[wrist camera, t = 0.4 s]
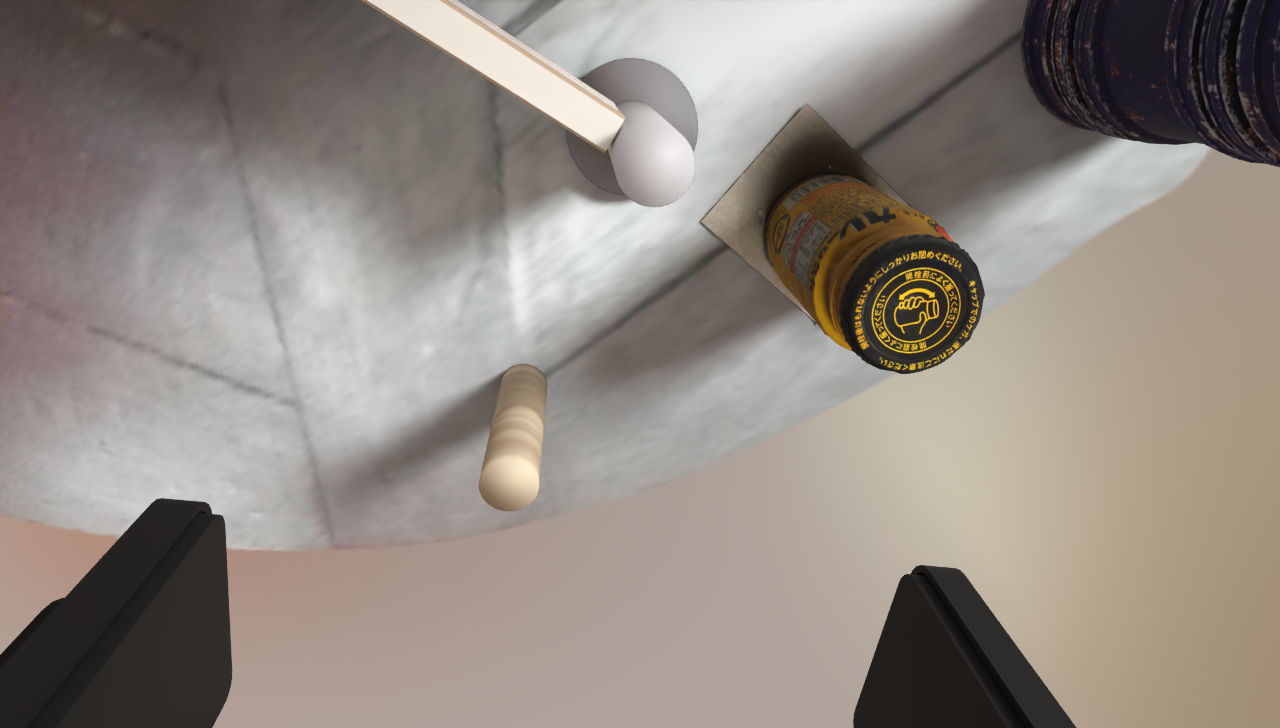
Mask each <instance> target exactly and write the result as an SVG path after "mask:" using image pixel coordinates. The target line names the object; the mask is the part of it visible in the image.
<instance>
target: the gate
mask: <svg viewBox="0 0 1280 728" xmlns="http://www.w3.org/2000/svg"><path fill="white" fill-rule="evenodd" d="M362 1H363V2H365V3H367V4H368V5H370V6H371V7H373V8H375V9H376V10H378V11H379V12H381V13H382V14H384V15H386V16H387V17H389V18H390V19H392V20H394V21H395V22H397V23H398V24H400V25H402V26H403V27H405V28H406V29H408V30H409V31H411V32H413V33H414V34H416V35H417V36H419V37H421V38H422V39H424V40H425V41H427V42H429V43H430V44H432V45H433V46H435V47H437V48H438V49H440V50H441V51H443V52H444V53H446V54H448V55H449V56H451V57H452V58H454V59H456V60H457V61H459V62H460V63H462V64H464V65H465V66H467V67H468V68H470V69H471V70H473V71H475V72H476V73H478V74H479V75H481V76H483V77H484V78H486V79H487V80H489V81H491V82H492V83H494V84H495V85H497V86H499V87H500V88H502V89H503V90H505V91H506V92H508V93H510V94H511V95H513V96H514V97H516V98H518V99H519V100H521V101H522V102H524V103H526V104H527V105H529V106H530V107H532V108H533V109H535V110H537V111H538V112H540V113H541V114H543V115H545V116H546V117H548V118H549V119H551V120H553V121H554V122H556V123H557V124H559V125H561V126H562V127H564V128H565V129H567V130H568V131H570V132H572V133H573V134H575V135H576V136H578V137H580V138H581V139H583V140H584V141H586V142H588V143H589V144H591V145H592V146H594V147H595V148H597V149H599V150H600V151H602V152H603V153H605V151H606V150H607V148H608V150H609V154H610V157H611V161H612V164H613V168H614V171H615V175H616V178H617V181H618V184H619V186H620V188H621V189H622V191H623V192H624V193H625V194H626V195H627V196H628V197H629V198H630V199H631V200H633V201H634V202H636V203H638V204H640V205H643V206H647V207H661V206H665V205H668V204H671V203H673V202H675V201H676V200H678V199H679V198H680V197H681V196H682V195H683V194H684V193H685V192H686V191H687V190H688V188H689V186H690V185H691V183H692V180H693V177H694V173H695V157H694V153H693V150H692V148H691V146H690V144H689V142H688V141H687V140H686V138H685V137H684V136H683V135H682V134H681V133H679V132H678V131H677V130H676V129H675V128H674V127H673V126H672V125H671V124H670V123H668V122H667V121H666V120H665V119H664V118H663V117H662V116H661V115H660V114H658V113H657V112H656V111H655V110H654V109H653V108H652V107H651V106H649V105H648V104H646V103H645V102H642V101H639V100H626V101H623V102H620V103H619V104H617V105H615V103H614V102H612V101H611V100H609V99H608V98H606V97H605V96H603V95H602V94H600V93H599V92H597V91H596V90H594V89H593V88H591V87H589V86H588V85H586V84H585V83H583V82H582V81H580V80H579V79H577V78H576V77H574V76H573V75H571V74H570V73H568V72H566V71H565V70H563V69H562V68H560V67H559V66H557V65H556V64H554V63H553V62H551V61H550V60H548V59H547V58H545V57H543V56H542V55H540V54H539V53H537V52H536V51H534V50H533V49H531V48H530V47H528V46H527V45H525V44H523V43H522V42H520V41H519V40H517V39H516V38H514V37H513V36H511V35H510V34H508V33H507V32H505V31H504V30H502V29H500V28H499V27H497V26H496V25H494V24H493V23H491V22H490V21H488V20H487V19H485V18H484V17H482V16H481V15H479V14H477V13H476V12H474V11H473V10H471V9H470V8H468V7H467V6H465V5H464V4H462V3H461V2H459V1H458V0H362Z"/></svg>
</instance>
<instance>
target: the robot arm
mask: <svg viewBox="0 0 1280 728" xmlns="http://www.w3.org/2000/svg"><path fill="white" fill-rule="evenodd" d="M231 680H232V660H231V639H230V617H229V597H228V575H227V553H226V532H225V521H224V518H223V516H221V515H215V514H212V511H211V508H210V506H209V504H207V503H206V502H198V501H186V500H175V499H163V498H161V499H156V500H155V501H154V502H153V503H151V505H150V506H149V507H148V508H147V509H146V510H145V511H144V512H143V513H142V514H141V515H140V517H139V518H138V519H137V520H136V521H135V522H134V523H133V524H132V525H131V526H130V527H129V529H128V530H127V531H126V532H125V533H124V534H123V535H122V536H121V537H120V538H119V539H118V541H117V542H116V543H115V544H114V545H113V546H112V547H111V548H110V549H109V550H108V552H107V553H106V554H105V555H104V556H103V557H102V558H101V559H100V560H99V561H98V562H97V563H96V565H95V566H94V567H93V568H92V569H91V570H90V571H89V572H88V573H87V574H86V575H85V577H84V578H83V579H82V580H81V581H80V582H79V583H78V584H77V585H76V586H75V587H74V589H73V590H72V591H71V592H70V593H69V594H68V595H67V596H66V597H65V598H61V599H59V600H56V601H53V602H52V603H50V605H48V606H47V607H46V608H44V610H42V611H41V612H40V613H39V615H37V616H36V617H35V619H34V620H33V621H32V622H31V623H30V624H29V625H28V626H27V627H26V628H25V629H24V630H23V631H22V632H21V634H20V635H19V636H18V637H17V638H16V639H15V640H14V641H13V642H12V643H11V644H10V645H9V646H8V647H7V648H6V650H5V651H4V652H3V653H2V654H1V655H0V728H212V727H213V725H214V723H215V721H216V719H217V717H218V716H219V714H220V712H221V710H222V708H223V706H224V704H225V702H226V700H227V697H228V694H229V690H230V686H231ZM853 724H854V728H1076V727H1075V725H1074V724H1073V723H1072V721H1071V720H1070V718H1069V717H1068V716H1067V714H1066V713H1065V712H1064V710H1063V709H1062V707H1061V706H1060V705H1059V703H1058V702H1057V701H1056V699H1055V698H1054V696H1053V695H1052V694H1051V692H1050V691H1049V690H1048V688H1047V687H1046V686H1045V684H1044V683H1043V681H1042V680H1041V679H1040V677H1039V676H1038V675H1037V673H1036V672H1035V670H1034V669H1033V668H1032V666H1031V665H1030V664H1029V663H1028V661H1027V660H1026V658H1025V657H1024V655H1023V654H1022V653H1021V651H1020V650H1019V649H1018V647H1017V646H1016V644H1015V643H1014V642H1013V640H1012V639H1011V638H1010V636H1009V635H1008V633H1007V632H1006V631H1005V630H1004V628H1003V627H1002V625H1001V624H1000V622H999V621H998V620H997V619H996V617H995V616H994V614H993V613H992V612H991V610H990V609H989V607H988V606H987V605H986V604H985V602H984V601H983V599H982V598H981V596H980V595H979V594H978V592H977V591H976V590H975V588H974V587H973V586H972V584H971V583H970V581H969V580H968V579H967V577H966V576H965V575H964V574H963V573H962V572H961V571H960V570H959V569H955V568H947V567H935V566H924V565H920V566H916V567H915V568H914V569H913V571H912V573H911V574H906V575H904V576H903V577H902V578H901V580H900V582H899V585H898V588H897V590H896V593H895V596H894V599H893V602H892V605H891V607H890V610H889V613H888V616H887V619H886V622H885V625H884V628H883V631H882V634H881V637H880V639H879V642H878V645H877V648H876V651H875V654H874V657H873V659H872V663H871V665H870V668H869V671H868V674H867V677H866V680H865V683H864V686H863V689H862V692H861V695H860V697H859V700H858V703H857V706H856V709H855V712H854V720H853Z"/></svg>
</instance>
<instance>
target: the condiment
mask: <svg viewBox="0 0 1280 728" xmlns="http://www.w3.org/2000/svg"><path fill="white" fill-rule="evenodd" d="M829 166H832V168H831V169H829ZM759 209H761V211H762V216H761V217H759V216H758V210H759ZM761 218H762V219H763V224H761V225H760V224H759V222H760V219H761ZM701 222H702V223H703V224H704V225H705V226H706V227H708V228H709V229H710V230H711V231H712V232H713V233H714V234H715V235H717V236H718V237H719V238H720V239H721V240H722V241H724V242H725V243H726V244H727V245H728V246H729V247H730V248H731V249H733V250H734V251H735V252H736V253H738V254H739V255H740V256H741V257H742V258H743V259H744V260H745V261H746V262H747V263H749V264H750V265H751V266H752V267H753V268H754V269H756V270H757V271H758V272H759V273H760V274H761V275H762V276H764V277H765V278H766V279H767V280H768V281H769V282H771V283H772V284H773V285H774V286H775V287H776V288H777V289H778V290H780V291H781V292H782V293H783V294H784V295H785V296H786V297H788V298H789V299H790V300H791V301H792V302H793V303H795V304H796V305H797V306H798V307H799V308H800V309H801V310H802V311H804V312H805V313H806V314H807V315H808V316H809V317H810V318H812V319H813V320H814V321H815V322H816V323H817V324H818V325H819V327H820V328H821V329H822V330H823V332H824V334H826V335H827V336H829V337H830V338H831V339H832V340H834V341H835V342H836V343H838V344H839V345H840V346H842V347H844V348H846V349H848V350H851V351H854V352H855V353H856V354H857V355H858V356H860V357H861V358H862V360H863V361H865V362H866V363H868V364H871V365H872V366H874V367H876V368H878V369H882V370H887V371H894V372H897V373H900V374H910V373H915V372H920V371H923V370H926V369H929V368H932V367H934V366H937V365H939V364H941V363H942V362H944V361H945V360H947V359H948V358H950V357H951V356H952V355H953V354H954V353H955V352H956V351H957V350H958V349H960V348H961V347H962V346H963V345H964V344H965V343H966V342H967V341H968V340H969V339H970V337H971V335H972V332H973V330H974V329H975V328H976V326H977V324H978V322H979V319H980V315H981V310H982V306H983V299H984V296H985V293H984V288H983V284H982V280H981V277H980V274H979V271H978V268H977V266H976V264H975V263H974V262H973V260H972V259H971V257H970V256H969V254H968V253H967V252H966V251H965V250H964V249H961V248H960V247H959V245H958V244H957V243H954V242H953V241H952V240H951V238H950V237H949V235H948V234H947V233H946V231H945V230H944V229H943V228H942V227H941V226H939V225H938V224H937V222H936V221H934V220H933V219H932V218H930V217H928V216H926V215H924V214H923V213H921V212H919V211H917V210H915V209H912V208H911V207H910V206H909V205H908V204H907V203H906V202H905V201H904V200H903V199H902V198H901V197H900V196H899V195H898V194H897V193H896V192H895V191H894V190H893V189H892V188H891V187H890V186H889V185H888V184H887V183H886V182H885V181H884V180H883V179H882V178H881V177H880V176H879V175H878V174H877V173H876V172H875V171H874V170H873V169H872V168H871V167H870V166H869V165H868V164H867V163H866V162H865V161H864V160H863V159H862V158H861V157H860V156H859V155H858V154H857V153H856V152H855V151H854V150H853V149H852V148H851V147H850V146H849V145H848V144H847V143H846V142H845V141H844V140H843V139H842V138H841V137H840V136H839V135H838V134H837V133H836V132H835V131H834V130H833V129H832V128H831V127H830V126H829V125H828V124H827V123H826V122H825V121H824V120H823V119H822V118H821V117H820V116H819V115H818V114H817V113H816V112H815V111H814V110H813V109H812V108H811V107H810V106H809V105H808V104H806V105H805V106H804V107H803V108H802V109H801V110H800V111H799V112H798V113H797V115H796V116H795V117H794V118H793V119H792V120H791V121H790V122H789V123H788V124H787V125H786V126H785V127H784V129H783V130H782V131H781V132H780V133H779V134H778V135H777V136H776V137H775V139H774V140H773V141H772V142H771V143H770V144H769V145H768V146H767V147H766V148H765V149H764V151H763V152H762V153H761V154H760V155H759V156H758V157H757V158H756V160H755V161H754V162H753V163H752V164H751V165H750V167H749V168H748V169H747V170H746V171H745V172H744V173H743V174H742V175H741V176H740V178H739V179H738V180H737V181H736V182H735V184H734V185H733V186H732V187H731V188H730V189H729V190H728V192H727V193H726V194H725V195H724V196H723V197H722V198H721V199H720V200H719V201H718V203H717V204H716V205H715V206H714V207H713V209H712V210H711V211H710V212H709V213H708V214H707V215H706V217H705V218H704V219H703V220H702V221H701Z"/></svg>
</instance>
